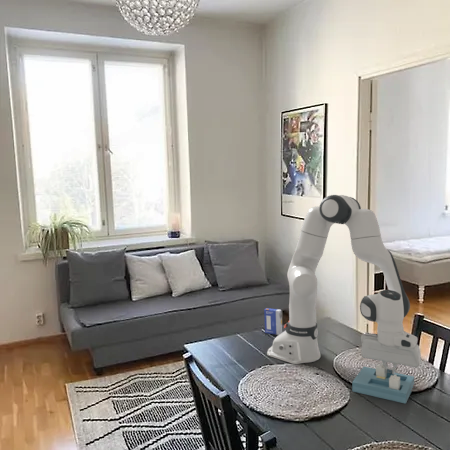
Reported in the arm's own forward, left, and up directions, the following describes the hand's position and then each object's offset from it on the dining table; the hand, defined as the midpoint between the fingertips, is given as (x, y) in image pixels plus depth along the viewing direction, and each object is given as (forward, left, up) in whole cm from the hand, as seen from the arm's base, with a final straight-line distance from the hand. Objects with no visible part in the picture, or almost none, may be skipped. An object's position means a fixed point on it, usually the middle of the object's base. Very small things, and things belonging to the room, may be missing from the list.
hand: (390, 373), depth 166 cm
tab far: (-3, 0, -3) cm, 4 cm away
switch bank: (-1, -3, -5) cm, 6 cm away
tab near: (+3, -7, -3) cm, 8 cm away
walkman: (-60, +27, -5) cm, 67 cm away
